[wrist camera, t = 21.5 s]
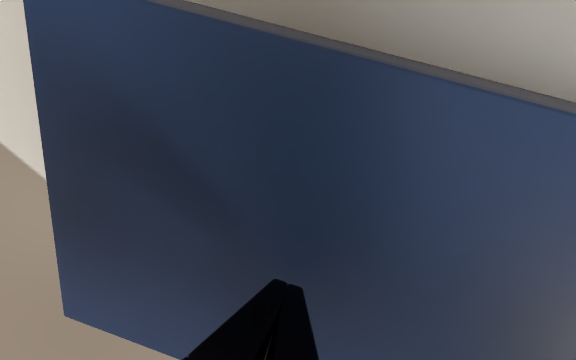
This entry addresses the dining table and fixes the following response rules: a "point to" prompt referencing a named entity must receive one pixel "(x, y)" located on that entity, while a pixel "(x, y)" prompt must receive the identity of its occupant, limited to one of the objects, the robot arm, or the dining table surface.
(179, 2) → the lunchbox
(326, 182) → the lunchbox lid
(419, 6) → the dining table surface
